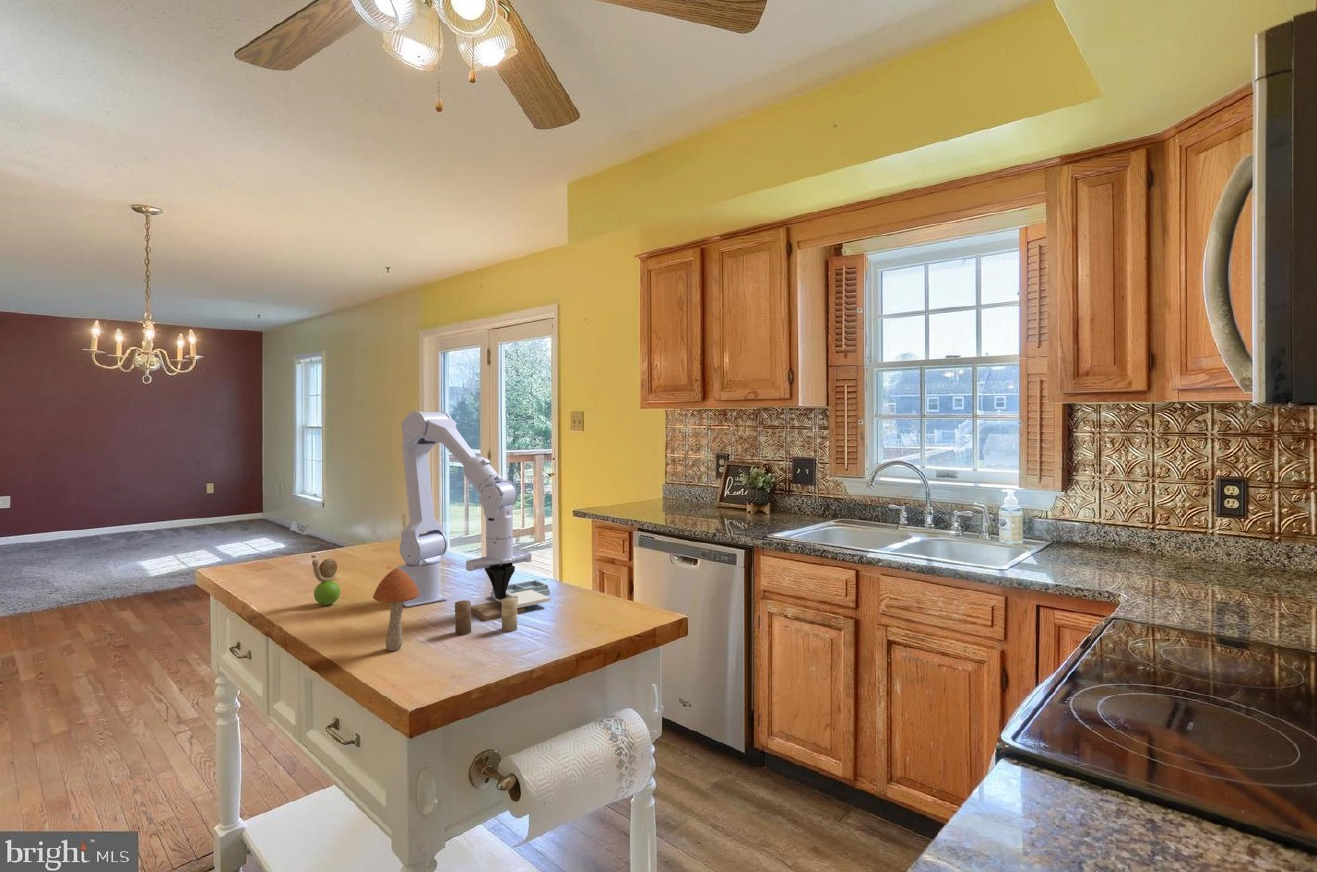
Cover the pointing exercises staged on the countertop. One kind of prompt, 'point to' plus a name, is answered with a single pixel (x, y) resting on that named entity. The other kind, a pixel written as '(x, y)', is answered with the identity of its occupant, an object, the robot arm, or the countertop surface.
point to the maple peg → (509, 614)
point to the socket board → (527, 587)
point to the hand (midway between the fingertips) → (500, 598)
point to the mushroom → (395, 602)
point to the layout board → (491, 610)
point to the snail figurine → (326, 581)
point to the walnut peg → (462, 617)
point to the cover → (526, 598)
